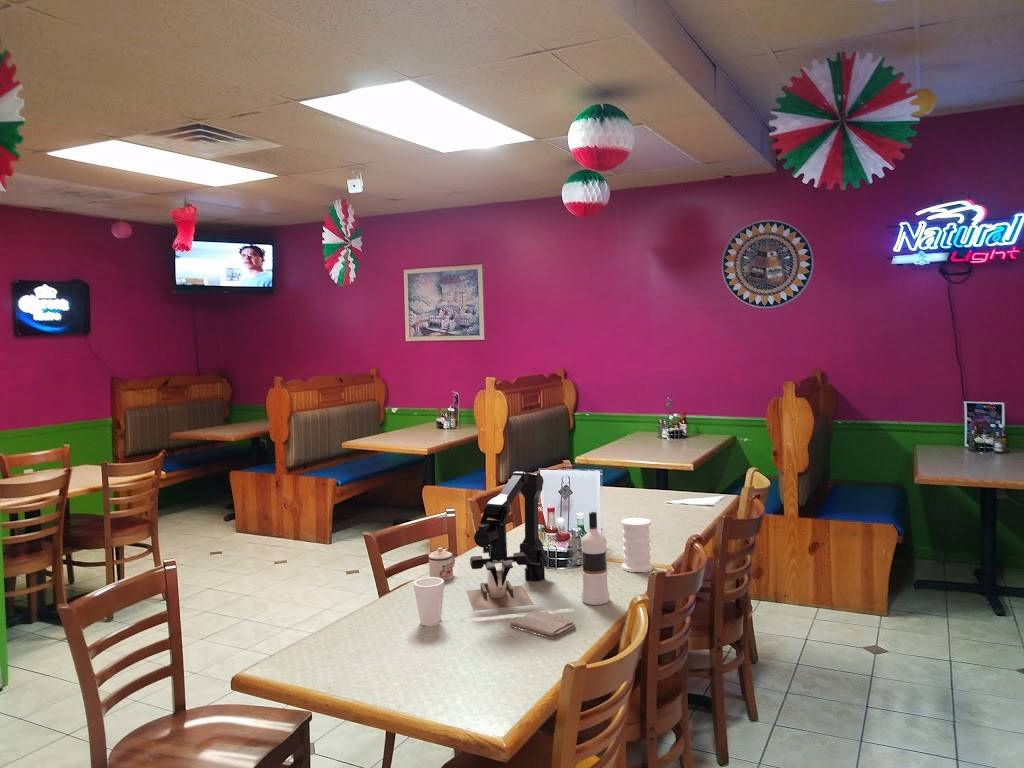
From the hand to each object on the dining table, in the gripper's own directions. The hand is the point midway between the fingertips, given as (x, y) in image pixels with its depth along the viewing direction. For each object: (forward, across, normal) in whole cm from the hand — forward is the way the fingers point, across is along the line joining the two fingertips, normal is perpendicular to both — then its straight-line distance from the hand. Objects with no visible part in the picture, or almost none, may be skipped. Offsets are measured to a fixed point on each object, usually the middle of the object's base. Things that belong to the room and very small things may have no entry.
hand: (499, 585), depth 253 cm
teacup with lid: (+6, +16, -33) cm, 38 cm away
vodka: (+6, -31, +6) cm, 32 cm away
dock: (+6, 0, -4) cm, 7 cm away
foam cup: (+6, +24, +11) cm, 27 cm away
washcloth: (+7, -9, +24) cm, 27 cm away
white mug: (+5, 0, -4) cm, 7 cm away
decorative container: (+6, -56, -24) cm, 61 cm away
